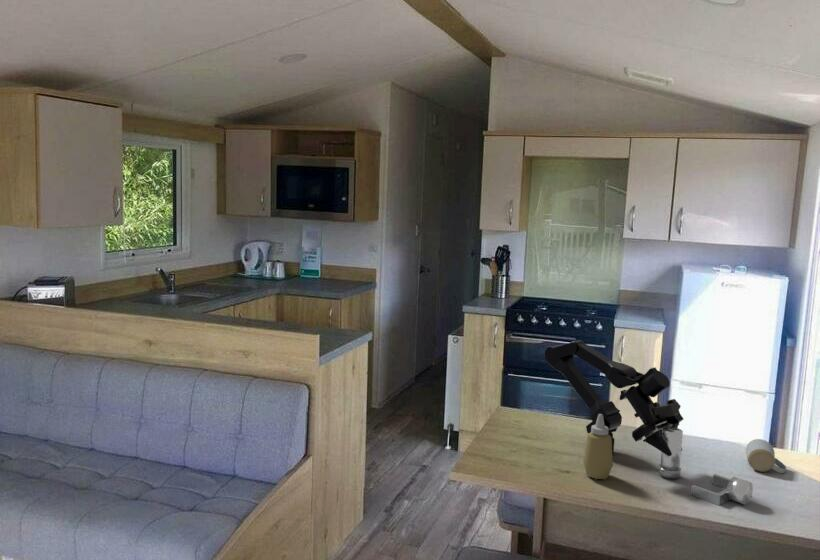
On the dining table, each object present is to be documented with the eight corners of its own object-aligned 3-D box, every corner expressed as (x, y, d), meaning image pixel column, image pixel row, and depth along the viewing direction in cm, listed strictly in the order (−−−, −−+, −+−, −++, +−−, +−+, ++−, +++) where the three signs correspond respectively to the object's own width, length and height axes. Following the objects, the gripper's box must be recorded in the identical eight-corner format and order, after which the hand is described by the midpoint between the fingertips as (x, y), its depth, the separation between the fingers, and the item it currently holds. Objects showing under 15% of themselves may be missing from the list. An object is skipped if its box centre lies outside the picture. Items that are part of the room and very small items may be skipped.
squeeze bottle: (596, 484, 186) (599, 421, 184) (576, 473, 193) (579, 412, 191) (618, 479, 190) (622, 417, 187) (597, 468, 197) (601, 408, 194)
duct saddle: (690, 494, 180) (692, 473, 180) (714, 482, 189) (716, 462, 188) (734, 511, 172) (736, 488, 171) (757, 497, 180) (759, 476, 179)
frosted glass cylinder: (662, 477, 189) (665, 433, 188) (655, 469, 195) (659, 426, 193) (683, 478, 189) (686, 434, 187) (676, 470, 195) (679, 427, 193)
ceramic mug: (746, 470, 198) (748, 445, 197) (744, 460, 205) (747, 436, 204) (787, 478, 194) (790, 452, 192) (784, 467, 201) (787, 442, 200)
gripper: (644, 396, 186) (679, 447, 179) (679, 385, 198) (713, 432, 191) (617, 416, 193) (650, 466, 186) (653, 404, 205) (684, 450, 198)
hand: (675, 453), depth 190 cm, fingers closed on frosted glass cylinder, 5 cm apart
